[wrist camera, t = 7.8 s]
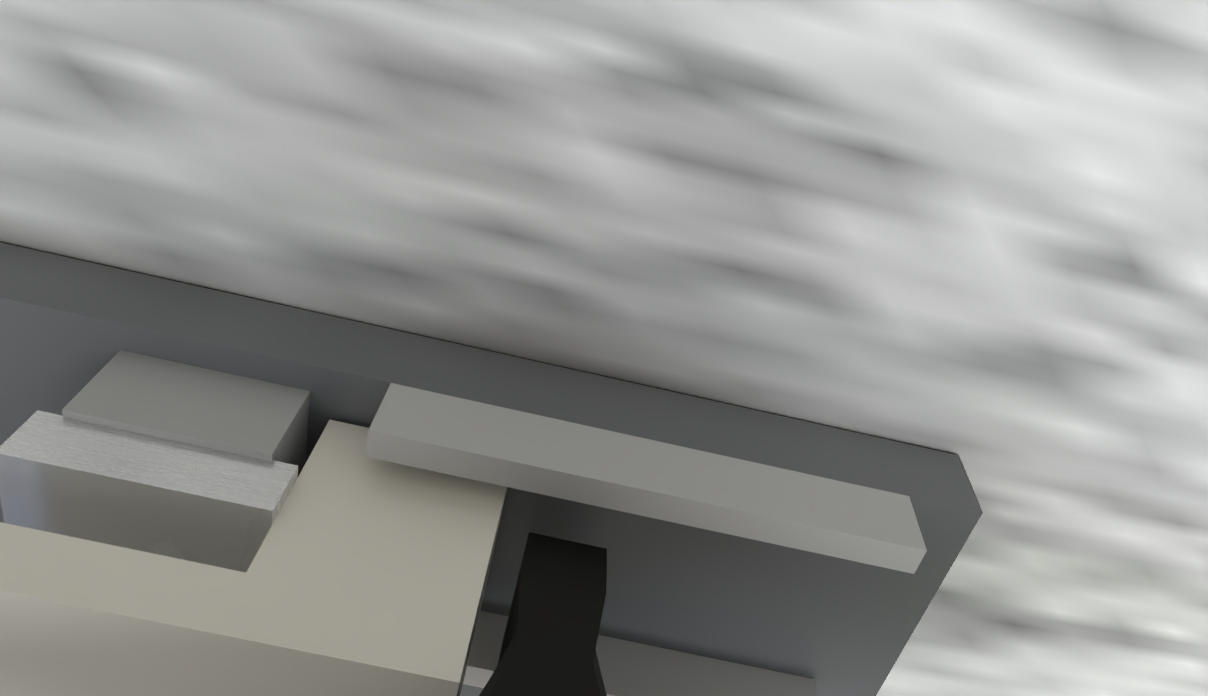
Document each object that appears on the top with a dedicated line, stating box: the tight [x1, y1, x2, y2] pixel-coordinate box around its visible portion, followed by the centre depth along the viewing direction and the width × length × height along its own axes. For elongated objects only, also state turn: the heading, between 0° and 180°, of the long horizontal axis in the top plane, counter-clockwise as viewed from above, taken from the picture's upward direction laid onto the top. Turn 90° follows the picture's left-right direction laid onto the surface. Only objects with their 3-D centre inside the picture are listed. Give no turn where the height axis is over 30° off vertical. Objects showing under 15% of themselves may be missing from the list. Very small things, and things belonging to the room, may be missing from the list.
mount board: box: [0, 243, 983, 696], centre depth 14 cm, size 11×18×4 cm, turn 78°
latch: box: [0, 420, 507, 696], centre depth 11 cm, size 3×5×4 cm, turn 78°
